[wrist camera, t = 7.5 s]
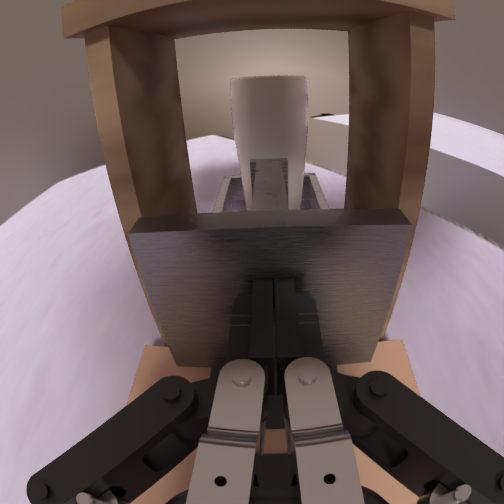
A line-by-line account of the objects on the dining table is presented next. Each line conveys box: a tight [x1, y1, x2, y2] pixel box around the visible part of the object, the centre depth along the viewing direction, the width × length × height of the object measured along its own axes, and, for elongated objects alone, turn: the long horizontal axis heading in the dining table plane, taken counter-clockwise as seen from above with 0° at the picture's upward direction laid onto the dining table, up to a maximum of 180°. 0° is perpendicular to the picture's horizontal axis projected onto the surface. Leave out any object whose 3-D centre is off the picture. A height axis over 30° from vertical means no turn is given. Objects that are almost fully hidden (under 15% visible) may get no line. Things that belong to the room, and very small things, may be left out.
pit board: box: [127, 339, 420, 504], centre depth 13 cm, size 12×16×2 cm
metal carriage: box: [128, 158, 412, 368], centre depth 23 cm, size 26×11×11 cm, turn 178°
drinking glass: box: [230, 76, 308, 211], centre depth 27 cm, size 7×7×15 cm
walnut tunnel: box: [61, 0, 455, 347], centre depth 17 cm, size 12×16×21 cm
